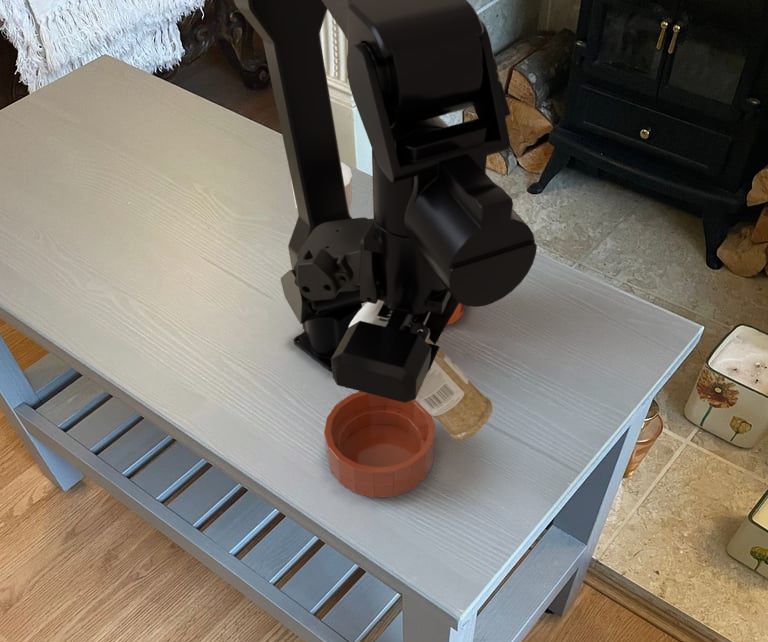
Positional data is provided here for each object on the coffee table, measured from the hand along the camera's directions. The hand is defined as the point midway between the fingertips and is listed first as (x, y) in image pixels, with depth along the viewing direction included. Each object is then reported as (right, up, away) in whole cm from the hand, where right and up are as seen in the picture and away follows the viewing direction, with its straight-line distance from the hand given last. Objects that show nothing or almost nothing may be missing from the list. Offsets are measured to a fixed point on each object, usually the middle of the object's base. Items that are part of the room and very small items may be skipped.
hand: (412, 376), depth 67 cm
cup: (-9, +19, +29) cm, 36 cm away
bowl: (-3, -6, +12) cm, 13 cm away
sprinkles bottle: (+5, -4, +2) cm, 7 cm away
